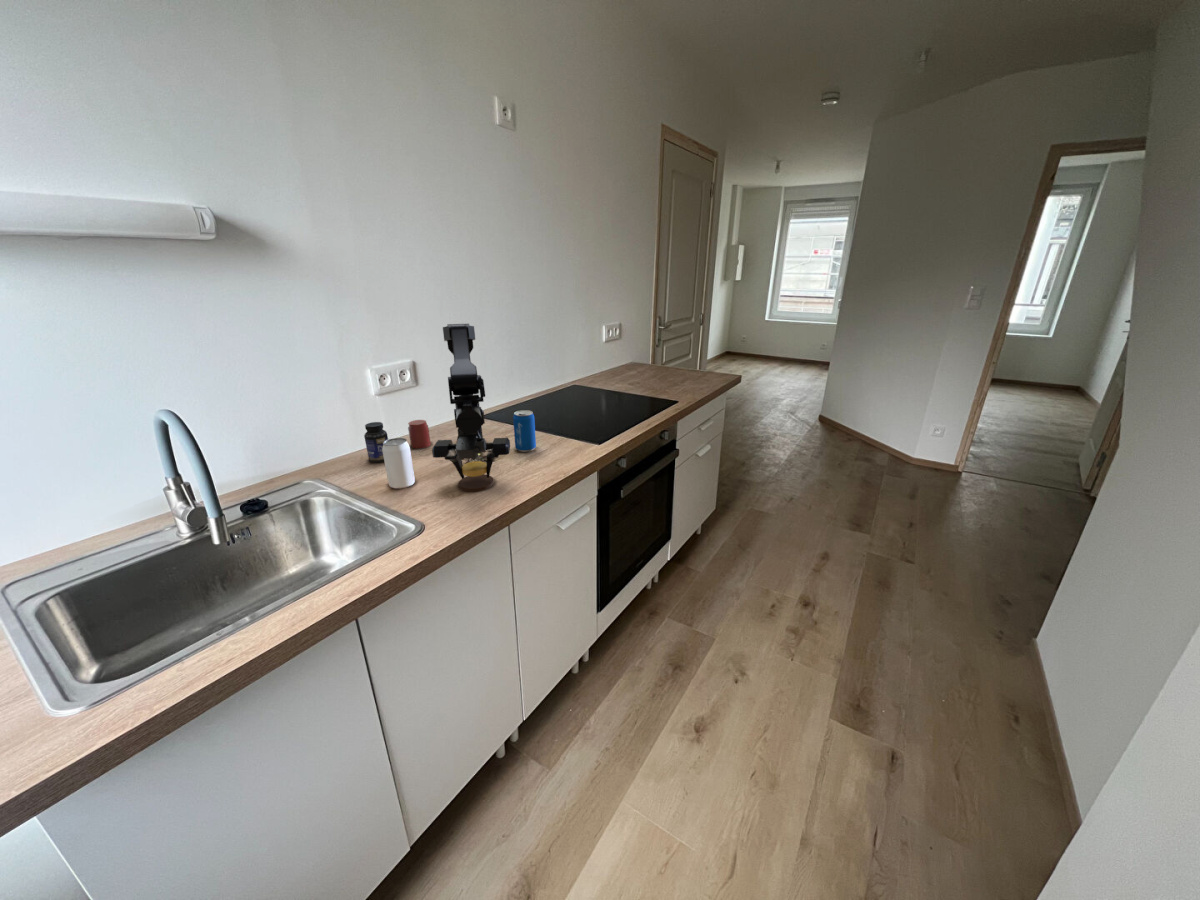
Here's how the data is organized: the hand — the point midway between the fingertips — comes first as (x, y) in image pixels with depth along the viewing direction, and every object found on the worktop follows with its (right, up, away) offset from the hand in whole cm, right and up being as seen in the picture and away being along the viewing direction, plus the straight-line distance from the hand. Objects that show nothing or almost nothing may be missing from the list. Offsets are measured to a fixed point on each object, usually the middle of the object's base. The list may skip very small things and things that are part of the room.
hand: (475, 477), depth 119 cm
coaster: (0, -2, +1) cm, 2 cm away
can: (-20, -2, +1) cm, 20 cm away
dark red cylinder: (-25, +9, +28) cm, 39 cm away
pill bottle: (-33, +4, +17) cm, 37 cm away
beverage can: (+9, +7, +24) cm, 27 cm away
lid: (0, +3, -1) cm, 3 cm away
